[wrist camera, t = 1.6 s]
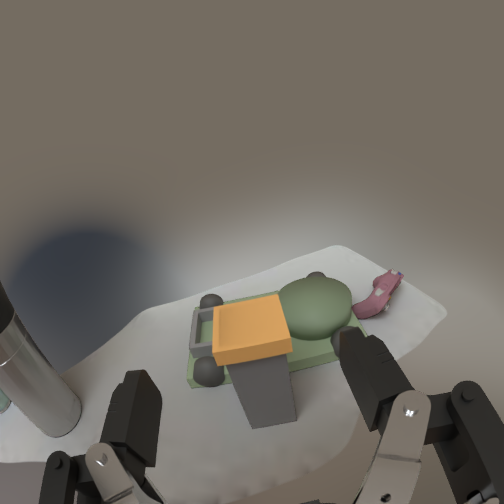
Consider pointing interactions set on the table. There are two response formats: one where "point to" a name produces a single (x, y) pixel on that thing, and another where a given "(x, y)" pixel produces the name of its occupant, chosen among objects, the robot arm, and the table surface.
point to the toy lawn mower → (298, 321)
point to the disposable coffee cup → (4, 401)
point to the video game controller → (378, 295)
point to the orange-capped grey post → (256, 357)
